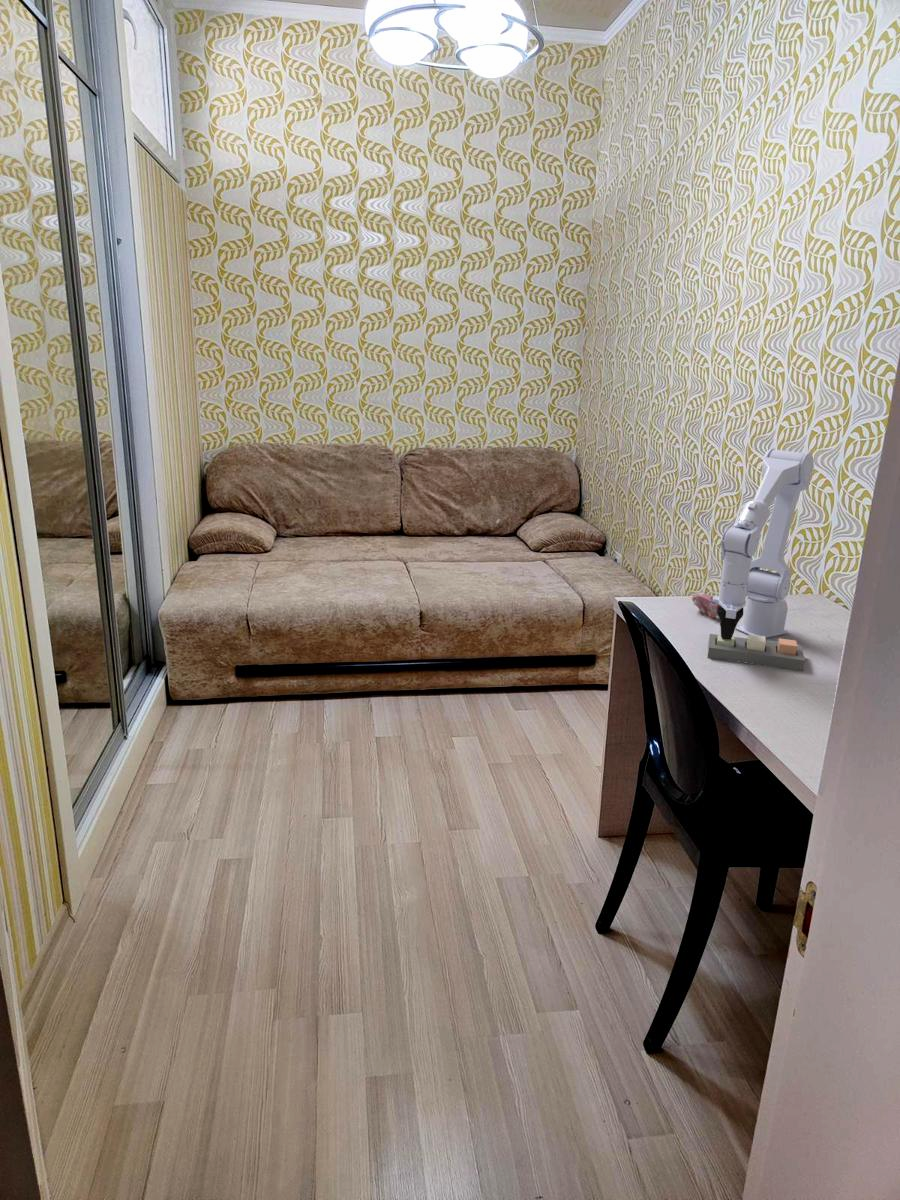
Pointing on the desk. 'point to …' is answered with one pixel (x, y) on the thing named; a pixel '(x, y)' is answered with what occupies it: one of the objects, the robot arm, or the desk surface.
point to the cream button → (756, 642)
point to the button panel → (756, 654)
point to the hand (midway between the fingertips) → (726, 638)
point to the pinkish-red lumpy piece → (706, 604)
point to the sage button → (725, 641)
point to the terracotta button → (787, 646)
